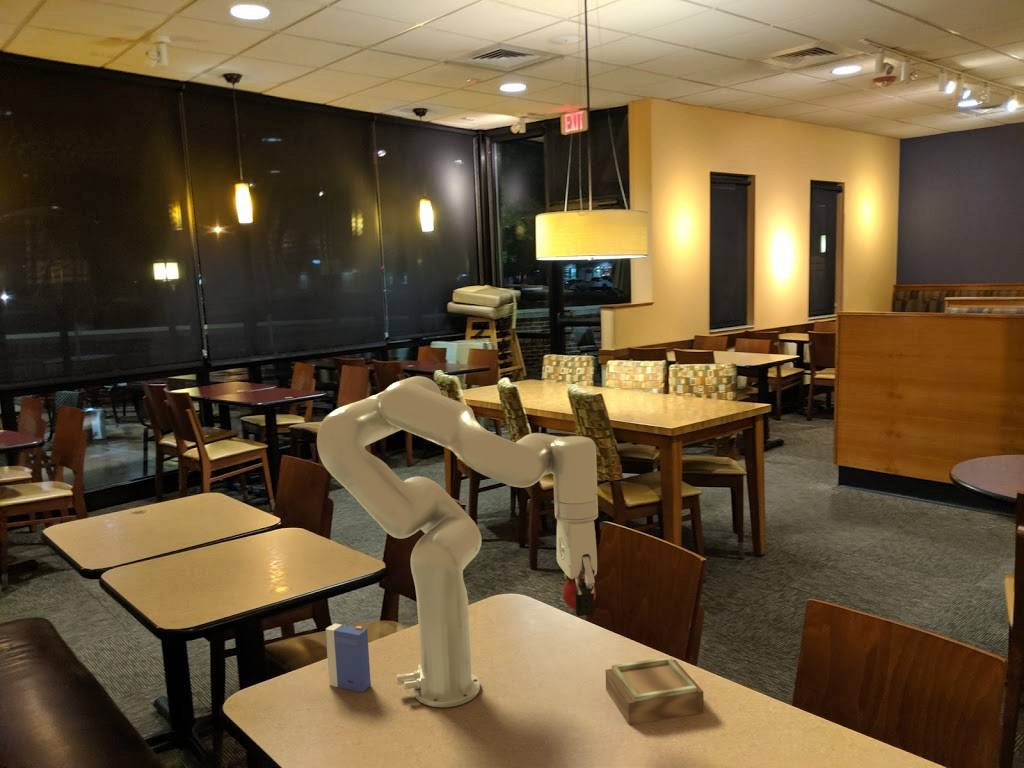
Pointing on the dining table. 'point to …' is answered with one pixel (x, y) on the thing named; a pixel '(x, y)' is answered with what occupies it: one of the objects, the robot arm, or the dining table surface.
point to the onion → (572, 591)
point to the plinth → (653, 690)
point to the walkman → (348, 657)
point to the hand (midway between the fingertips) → (579, 606)
